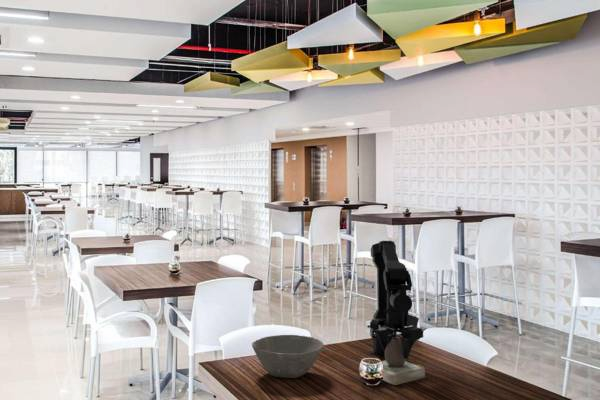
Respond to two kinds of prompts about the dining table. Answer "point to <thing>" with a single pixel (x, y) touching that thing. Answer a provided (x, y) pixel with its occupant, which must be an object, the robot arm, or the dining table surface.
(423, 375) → the plinth
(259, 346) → the ceramic bowl
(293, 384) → the dining table surface
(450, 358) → the dining table surface
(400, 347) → the vase
